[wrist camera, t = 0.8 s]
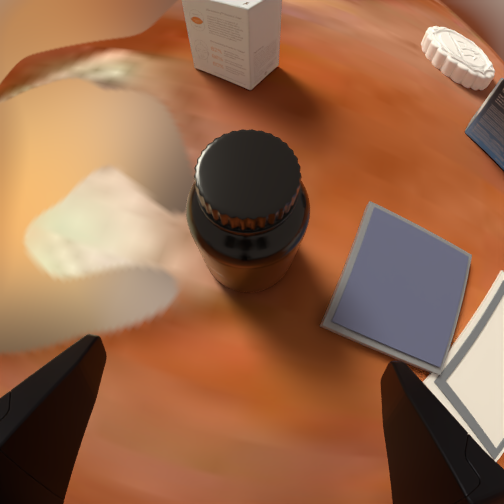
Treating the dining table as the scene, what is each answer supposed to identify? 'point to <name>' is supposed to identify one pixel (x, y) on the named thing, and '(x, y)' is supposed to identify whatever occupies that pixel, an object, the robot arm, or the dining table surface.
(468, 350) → the marked card
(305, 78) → the dining table surface
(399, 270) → the pad
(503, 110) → the label tape cartridge
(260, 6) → the small box
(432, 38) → the mooncake
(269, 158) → the supplement bottle
